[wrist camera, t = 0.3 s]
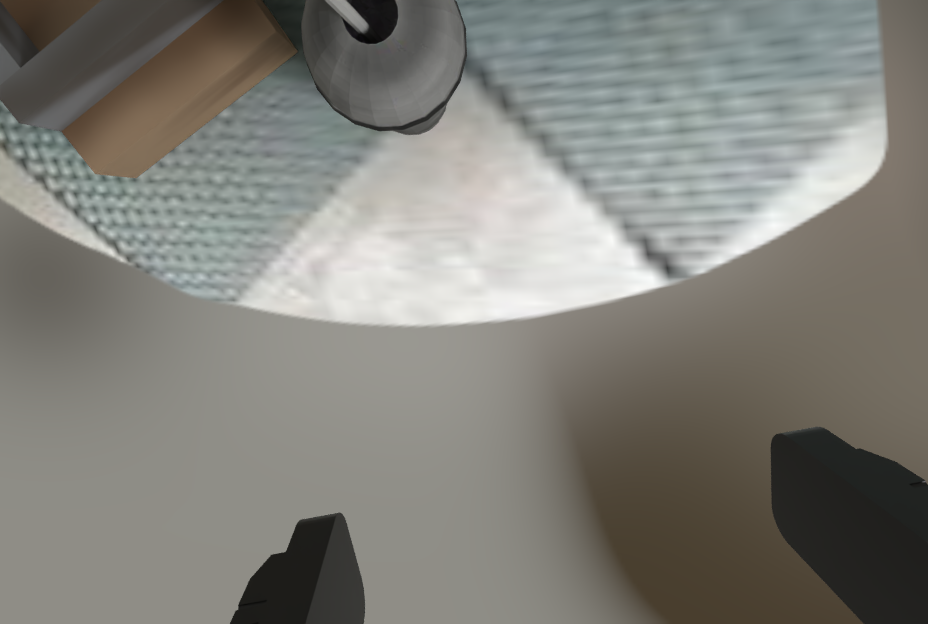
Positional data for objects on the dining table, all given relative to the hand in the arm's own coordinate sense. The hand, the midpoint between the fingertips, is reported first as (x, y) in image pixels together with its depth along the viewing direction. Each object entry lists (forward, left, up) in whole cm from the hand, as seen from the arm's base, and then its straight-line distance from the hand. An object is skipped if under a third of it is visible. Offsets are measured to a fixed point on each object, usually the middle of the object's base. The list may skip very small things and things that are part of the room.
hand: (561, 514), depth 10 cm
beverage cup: (-13, -4, -28) cm, 31 cm away
